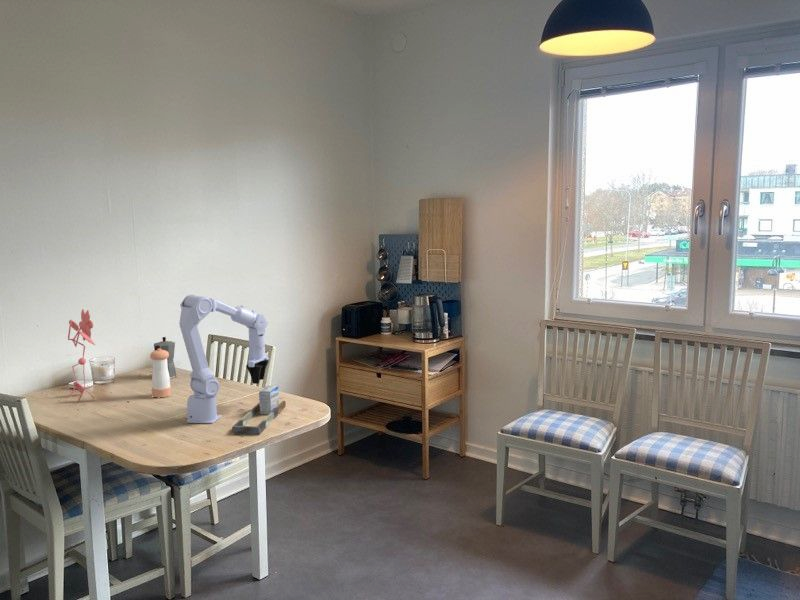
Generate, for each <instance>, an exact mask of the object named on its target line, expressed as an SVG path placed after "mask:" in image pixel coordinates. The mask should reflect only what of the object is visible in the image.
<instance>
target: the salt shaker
mask: <svg viewBox="0 0 800 600" xmlns="http://www.w3.org/2000/svg"><path fill="white" fill-rule="evenodd" d="M154 350H155V349H154ZM154 350H153V351H151V353H150V355H149V358H150V359H151V360H152V376H151V377H152V378H151V383H152V384H151V386H152V387H151V397H152V396H153V397H166V396H169V395H171V394H172V386H171V379H170V376H169V372H168V365H167V358H168V357H169V353H168V352H167V351H165V350H161V349H160V348H158V349H157V350H155V351H154ZM171 396H172V395H171ZM153 397H152V398H153ZM169 397H170V396H169ZM166 398H167V397H166Z"/></svg>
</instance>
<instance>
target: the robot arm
mask: <svg viewBox="0 0 800 600" xmlns="http://www.w3.org/2000/svg"><path fill="white" fill-rule="evenodd" d="M180 309H181V311H180V317H179V322H178V324H179V328H180V332H181V334H182V339H183V342H184V346H185V348H186V349H185V350H186V353H187V357H188V358H189V363H190V367H191V371H192V372H191V373H190V374H189V376H190V384H189V385H190V389H191V390H192V391H193V394H191V395H189V396H188V398H187V403H186V407H187V408H186V409H187V412H186V413H187V421H186V423H190V424H195V423H196V424H214V423H215V422H216V421H218V420H219V419H220V418H221V417H222V415H221V414H218V407H217V394H218V392H219V390H220V385H221V384H220V382H219V381H218V379H217V378H216V377H215V374H214V372H213V371H212V370H211V369H210V367H209V365H208V364H209V362H208V361H207V356H206V353H205V348H204V346H203V342H202V338H201V334H200V332H199V328H198V325H199V324H200V322H201V321H202V320H204V319H205V318H206V317H207V316H208V315H210V313H214V312H219V313H220V314H224V315H227V316H229V317H230V318H231V321H232V322H235V323H238V324H240V325H242V326H245V327H246V328H247V329H248V345H249V346H248V350H249V357H248V362H247V363H248V364H246V369H247V371H248V372H249V374H250V378H251V382H252V384H254V385H255V384H257V385H258V384H260V380H261V381H263V380H264V379H265V374H266V371H267V370H266V369H267V366H268V364H269V362H270V361H269V356H267V352H266V343H265V342H266V341H265V337H266V335H265V333H266V328H267V326H268V320H267V318H266V317H265V315H264V314H259V313H256V311H255V310H249V309H247V307H246V306H244V305H240V306H239V305H237V306H235V307H233V306H230V305H229V304H226V303H224V302H222V301H220V300H218V299H215V298H211V297H208V296H199V295H195V294H189V295H186V296H185V297H184V298H183V300H182V302H181V303H180Z"/></svg>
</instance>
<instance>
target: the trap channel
mask: <svg viewBox="0 0 800 600" xmlns="http://www.w3.org/2000/svg"><path fill="white" fill-rule="evenodd" d="M285 407H286V400H282V401H281V402H279V405H278V406H277V407H276V408H275V409H274V410H273V411H272V412H271V413H270V414H267V416H266V417H265V418H264V419H263V420H261V422H260V423H259V424H258V425H257V426H253V425H252V426H251V425H249V426H248V425H247V424H248V423H249V422H251V420H252V419H253V418H255V417H256V416H257V415H258V414H260V402H258V403H257V404H256V405H255V406H254V407H253V408H251V410H249V411H248V412H247V413H246V414H245V415H244V416H242V418H240V419H239V420H238V421H237V422H236V423H235V424H234V425H232V435H244V436H245V435H250V436H251V435H253V436H260V435H261V434H262V433H263V432H264V431H265V429H266V428H268V426H270V424H271V423H272V422H273V421H274V420H276V418H277V417H278V416H279V415H280V414H281V413H282V412H283V411H282V410H283V409H284V408H285ZM286 408H287V407H286ZM286 408H285V409H286ZM285 409H284V410H285ZM281 411H282V412H281ZM280 412H281V413H280ZM279 413H280V414H279ZM278 414H279V415H278Z"/></svg>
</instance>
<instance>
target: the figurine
mask: <svg viewBox="0 0 800 600" xmlns="http://www.w3.org/2000/svg"><path fill="white" fill-rule="evenodd" d="M90 318H91V314H90V310H88V309H87V310H86V311H85V310H84V309H81V312H80V319H81V321H79V322H78V323H77V322H75V321H74V320H72V319H69V320H68V323H69V328H68V335H67V340H68V341H72V342H73V344H74V346H75V348H77V345H78V344H79V345H81V346H83V350H82V357H80V358H79V359H78V361H77V362H78V363H76V364H74V365H72V370H73V371H72V372H73V375H74V379H75V381H74V382H73V390H72V391H71V394H70V396H73V394H74V392H75V390H76V391H78V392H79V393H80V394H79V396H78V397H79V398H78V399H77V401H79V402H80V400H81V399H82V396H83V394H84V391H85V392H87V393H88V395H89V396H91V398H93V399H94V400H95V399H96V398H95V397H94V396H93V395H92V394H91V392H89V391H88V390H87V389H86V388H87V386H86V375H85V366H86V365H85V364H86V362H87V360H86V359H85V357H84V356H85V352H86V351H85V349H86V346H85V344H84V343H82V342H79V338H80V335H81V337H82V341H83V342H84V341H85V340H86V341H87V342H88V343H90V344H92V345H94V346H96V343H95V342H94V341H93V339H92V338H91V336H92V330H91V329H92V328H94V323H93V321H92V320H90ZM72 329H73V330H75V331H76V333H75V335H74V337H73V338H70V335H71V330H72ZM78 365H81V366H82V365H83V366H82V367H83V369H82V370H83V371H82V373H83V383H84V384H83V385H84V386H83V385H81V384H80V383H79V382H78V379H77V376H76V372H75V369H74V367H76V366H78Z"/></svg>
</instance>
